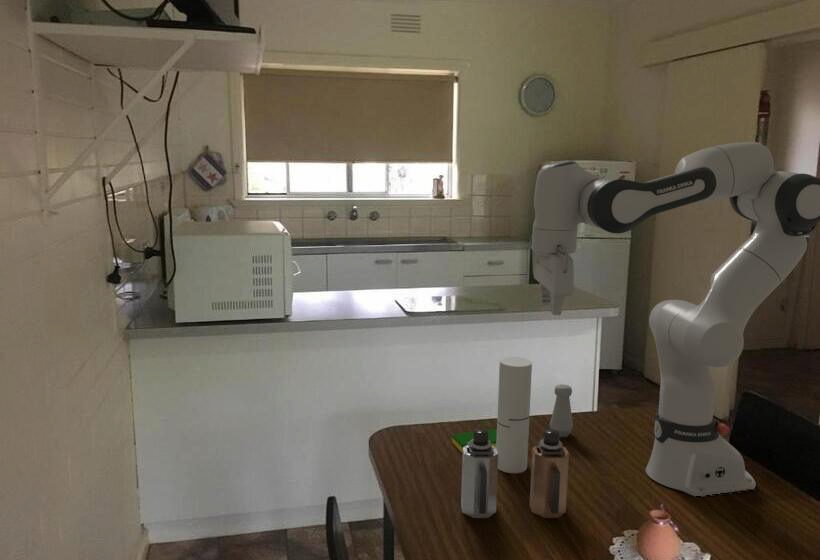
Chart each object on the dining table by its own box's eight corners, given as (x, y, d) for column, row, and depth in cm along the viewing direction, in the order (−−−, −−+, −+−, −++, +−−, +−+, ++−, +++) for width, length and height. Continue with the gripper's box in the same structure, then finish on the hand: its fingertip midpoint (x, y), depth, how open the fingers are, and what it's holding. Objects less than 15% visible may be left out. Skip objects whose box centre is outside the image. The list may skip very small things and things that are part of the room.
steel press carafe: (492, 500, 137) (494, 439, 135) (499, 524, 128) (502, 459, 126) (460, 500, 137) (461, 439, 135) (464, 524, 128) (466, 459, 126)
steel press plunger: (488, 484, 135) (490, 427, 133) (491, 495, 131) (493, 436, 129) (466, 484, 135) (468, 427, 133) (469, 495, 131) (471, 436, 129)
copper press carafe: (559, 500, 138) (563, 439, 135) (571, 524, 129) (575, 459, 126) (527, 500, 137) (530, 439, 135) (536, 524, 128) (540, 459, 126)
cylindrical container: (526, 474, 149) (531, 367, 144) (494, 471, 150) (498, 365, 145) (527, 460, 155) (532, 358, 151) (496, 457, 157) (500, 355, 152)
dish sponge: (451, 443, 166) (451, 434, 165) (501, 436, 170) (501, 427, 170) (462, 455, 159) (462, 445, 159) (514, 448, 163) (514, 438, 163)
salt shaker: (575, 433, 172) (578, 385, 169) (568, 440, 167) (571, 391, 165) (553, 427, 175) (556, 380, 172) (546, 435, 170) (548, 386, 168)
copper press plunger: (556, 484, 136) (559, 427, 133) (562, 495, 131) (565, 436, 129) (535, 484, 136) (538, 427, 133) (539, 495, 131) (542, 436, 129)
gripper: (584, 249, 124) (579, 321, 127) (557, 236, 144) (554, 299, 147) (550, 249, 124) (546, 321, 127) (528, 236, 144) (525, 298, 147)
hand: (550, 309), depth 137 cm, fingers open, 8 cm apart
